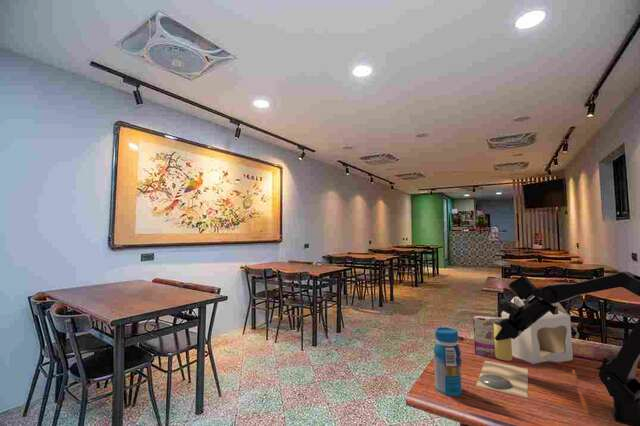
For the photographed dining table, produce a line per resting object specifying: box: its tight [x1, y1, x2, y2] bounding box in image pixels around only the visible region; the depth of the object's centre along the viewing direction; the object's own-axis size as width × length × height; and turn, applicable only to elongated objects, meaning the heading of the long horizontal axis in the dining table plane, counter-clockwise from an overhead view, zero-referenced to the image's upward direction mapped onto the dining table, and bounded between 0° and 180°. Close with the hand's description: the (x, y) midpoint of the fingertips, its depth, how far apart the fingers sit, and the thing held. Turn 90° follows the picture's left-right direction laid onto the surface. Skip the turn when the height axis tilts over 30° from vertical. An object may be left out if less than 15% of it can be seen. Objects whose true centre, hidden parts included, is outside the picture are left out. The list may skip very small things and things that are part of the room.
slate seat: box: [479, 374, 511, 389], centre depth 105 cm, size 9×9×1 cm
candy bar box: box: [472, 314, 503, 359], centre depth 129 cm, size 11×5×16 cm, turn 62°
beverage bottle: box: [433, 326, 463, 397], centre depth 101 cm, size 8×8×20 cm
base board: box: [475, 360, 529, 399], centre depth 109 cm, size 24×14×2 cm, turn 146°
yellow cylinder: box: [493, 317, 513, 361], centre depth 113 cm, size 5×5×13 cm
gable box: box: [501, 296, 574, 365], centre depth 130 cm, size 22×13×28 cm, turn 108°
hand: (498, 337), depth 114 cm, fingers closed on yellow cylinder, 5 cm apart
